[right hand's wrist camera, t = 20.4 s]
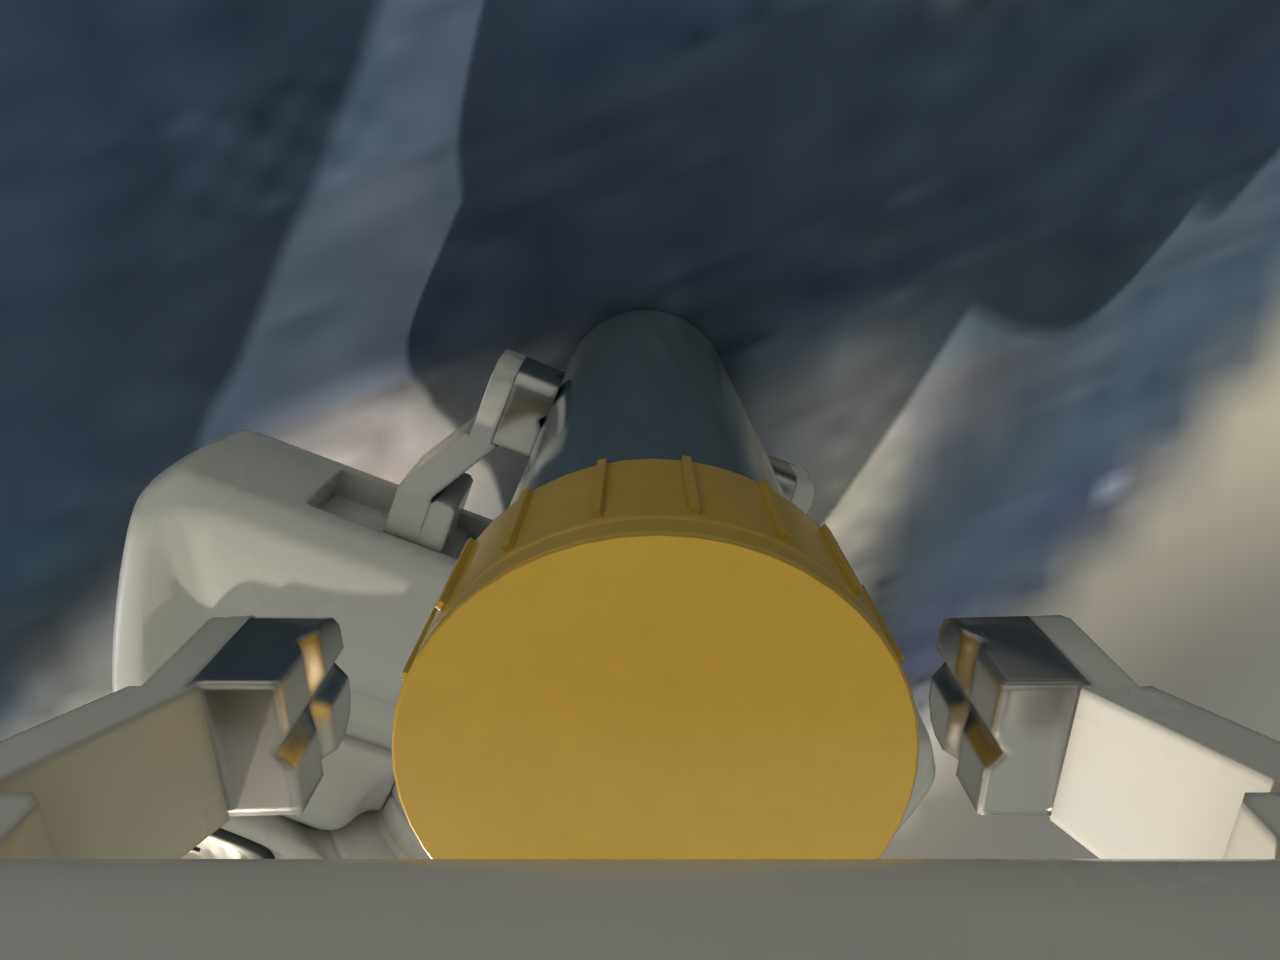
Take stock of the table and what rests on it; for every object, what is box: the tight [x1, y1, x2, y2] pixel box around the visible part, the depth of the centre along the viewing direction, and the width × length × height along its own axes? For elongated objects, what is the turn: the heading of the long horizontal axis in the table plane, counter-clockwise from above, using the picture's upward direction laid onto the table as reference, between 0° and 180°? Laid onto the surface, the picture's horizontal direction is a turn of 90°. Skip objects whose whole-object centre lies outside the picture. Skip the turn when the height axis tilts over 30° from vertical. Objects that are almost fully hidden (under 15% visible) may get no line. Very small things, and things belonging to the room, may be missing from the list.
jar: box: [509, 310, 788, 507], centre depth 16 cm, size 5×5×16 cm
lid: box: [391, 456, 920, 859], centre depth 9 cm, size 6×6×2 cm
